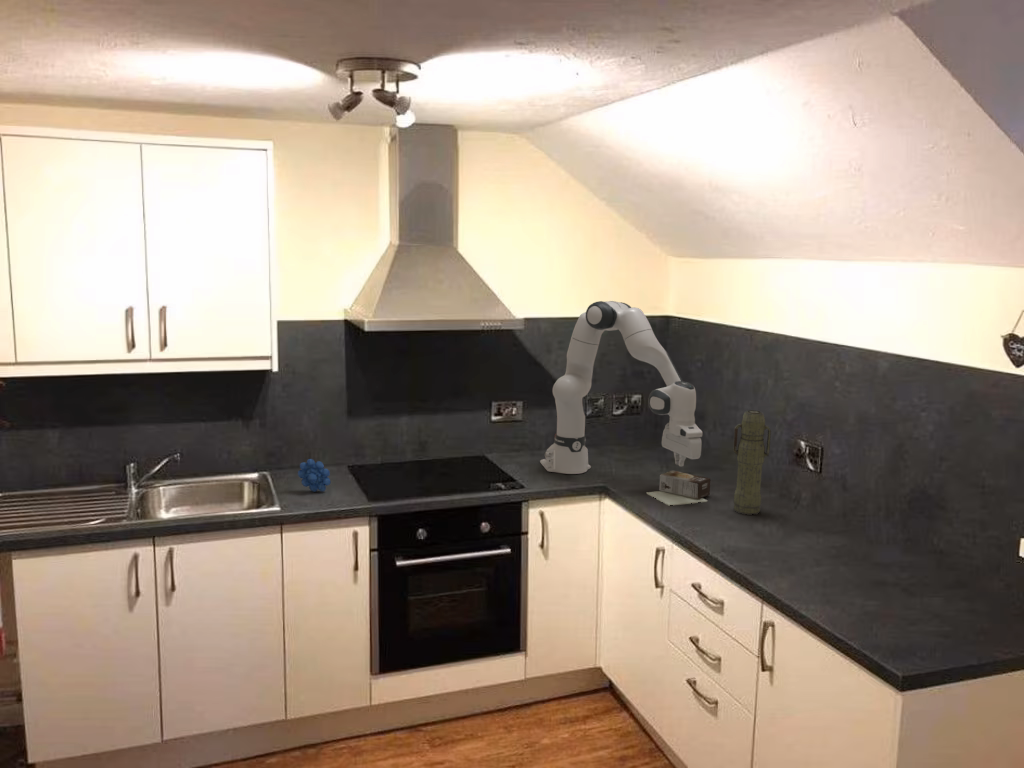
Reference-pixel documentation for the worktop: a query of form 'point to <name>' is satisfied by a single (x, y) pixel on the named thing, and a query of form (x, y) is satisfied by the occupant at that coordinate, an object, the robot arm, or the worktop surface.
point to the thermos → (750, 461)
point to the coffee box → (685, 484)
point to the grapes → (314, 475)
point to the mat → (673, 498)
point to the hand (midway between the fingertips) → (679, 465)
